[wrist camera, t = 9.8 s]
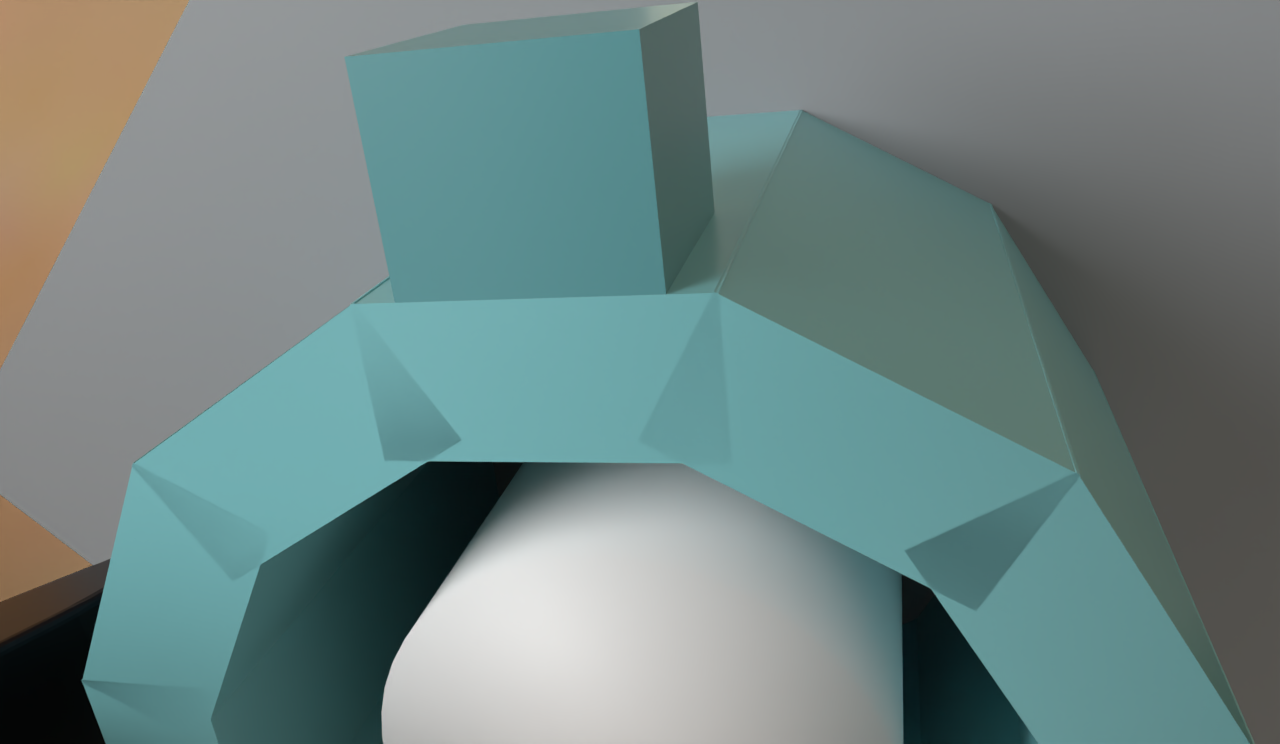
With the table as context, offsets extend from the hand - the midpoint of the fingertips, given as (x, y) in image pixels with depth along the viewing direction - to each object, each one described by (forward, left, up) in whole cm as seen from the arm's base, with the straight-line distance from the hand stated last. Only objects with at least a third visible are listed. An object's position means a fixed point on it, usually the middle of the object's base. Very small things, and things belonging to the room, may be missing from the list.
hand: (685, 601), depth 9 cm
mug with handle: (0, 0, -3) cm, 3 cm away
